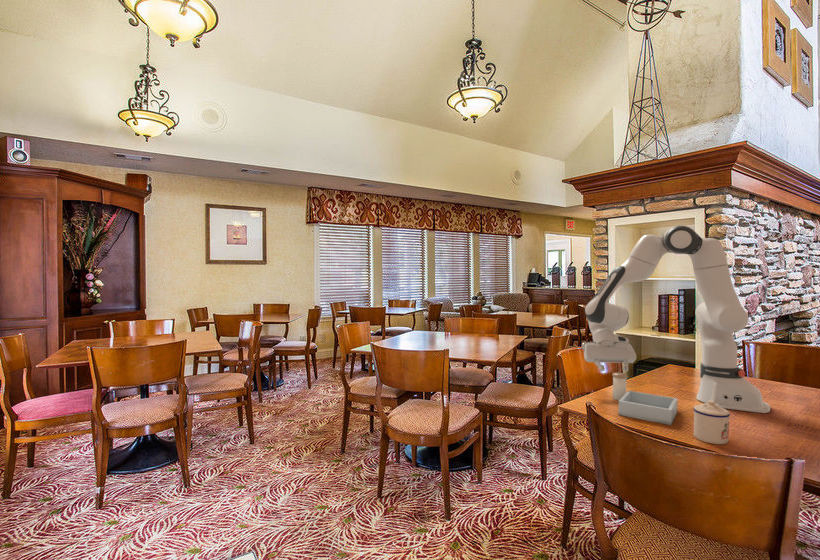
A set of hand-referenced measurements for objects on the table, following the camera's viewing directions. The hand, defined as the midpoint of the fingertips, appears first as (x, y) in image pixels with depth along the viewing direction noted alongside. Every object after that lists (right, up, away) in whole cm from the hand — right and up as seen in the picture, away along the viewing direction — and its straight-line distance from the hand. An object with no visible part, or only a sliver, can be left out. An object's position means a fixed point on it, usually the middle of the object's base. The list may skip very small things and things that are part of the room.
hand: (614, 370), depth 173 cm
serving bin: (+2, -11, -21) cm, 24 cm away
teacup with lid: (+9, -12, -43) cm, 45 cm away
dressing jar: (0, -10, -5) cm, 11 cm away
